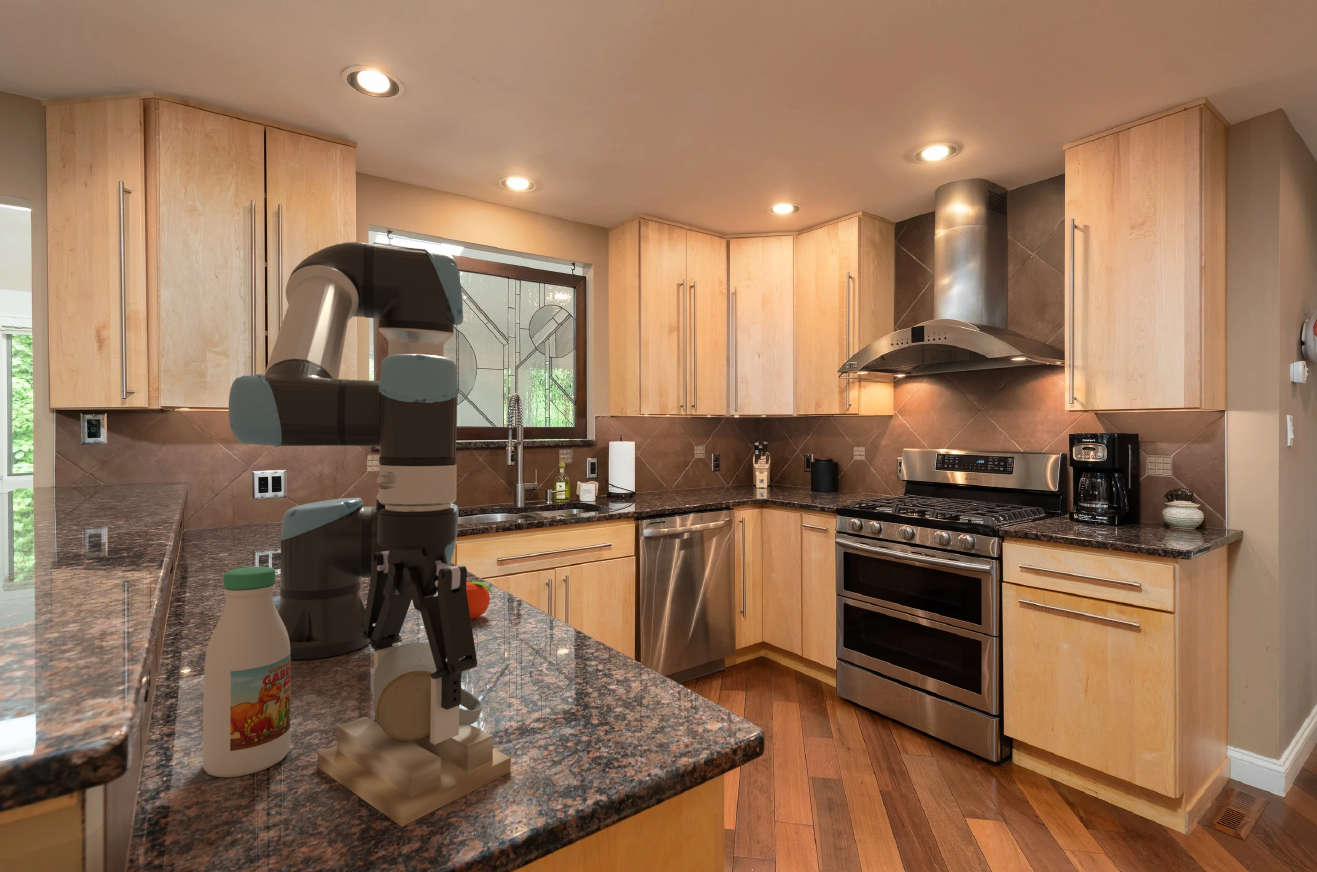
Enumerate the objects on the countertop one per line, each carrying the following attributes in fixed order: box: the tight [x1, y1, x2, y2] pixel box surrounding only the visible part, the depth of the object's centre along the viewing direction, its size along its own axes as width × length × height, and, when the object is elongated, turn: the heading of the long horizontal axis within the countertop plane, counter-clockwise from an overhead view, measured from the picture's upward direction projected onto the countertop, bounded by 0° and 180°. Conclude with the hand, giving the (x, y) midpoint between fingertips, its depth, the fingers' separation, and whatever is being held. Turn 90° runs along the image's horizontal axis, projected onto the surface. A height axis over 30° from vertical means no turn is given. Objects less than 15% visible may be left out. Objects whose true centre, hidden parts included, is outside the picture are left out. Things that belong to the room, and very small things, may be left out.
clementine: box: [466, 580, 494, 620], centre depth 121 cm, size 8×7×7 cm
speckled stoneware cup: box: [372, 641, 483, 741], centre depth 67 cm, size 11×8×8 cm
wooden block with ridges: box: [317, 716, 512, 828], centre depth 66 cm, size 16×12×4 cm
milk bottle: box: [202, 566, 292, 778], centre depth 68 cm, size 8×8×20 cm
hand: (414, 722), depth 66 cm, fingers closed on speckled stoneware cup, 10 cm apart
